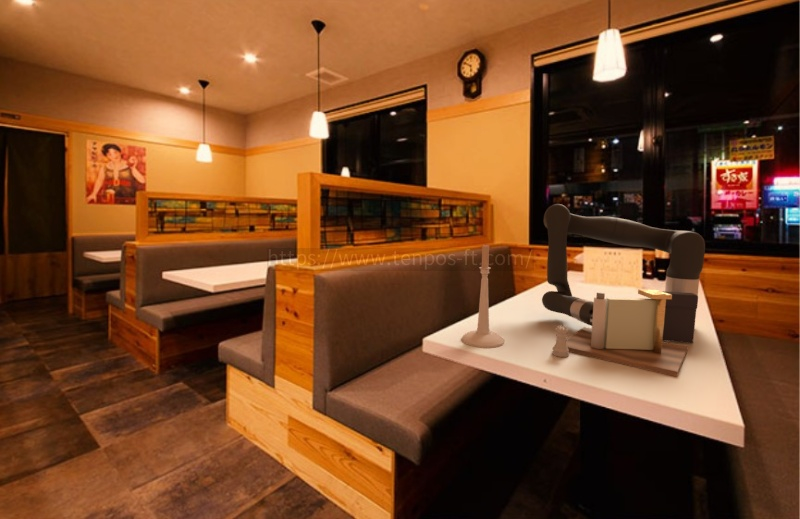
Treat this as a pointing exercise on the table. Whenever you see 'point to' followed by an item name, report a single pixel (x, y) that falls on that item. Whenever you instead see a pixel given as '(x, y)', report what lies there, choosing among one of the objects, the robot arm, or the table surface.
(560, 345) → the rook chess piece
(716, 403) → the table surface
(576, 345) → the board
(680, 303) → the dark brown flat block
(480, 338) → the candlestick
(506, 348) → the table surface
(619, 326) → the hinge
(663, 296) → the plate
